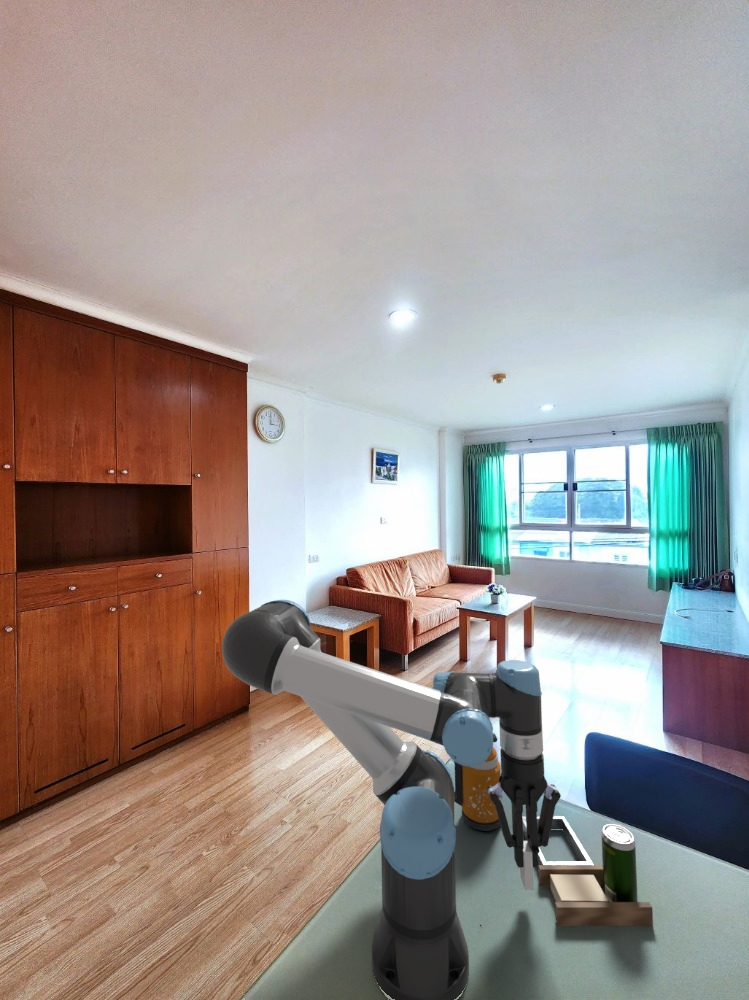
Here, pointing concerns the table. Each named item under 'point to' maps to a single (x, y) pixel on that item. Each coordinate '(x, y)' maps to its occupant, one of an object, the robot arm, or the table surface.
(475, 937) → the table surface
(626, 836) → the beer can
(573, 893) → the block
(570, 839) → the frame
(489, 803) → the canister
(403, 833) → the robot arm
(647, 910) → the beam
